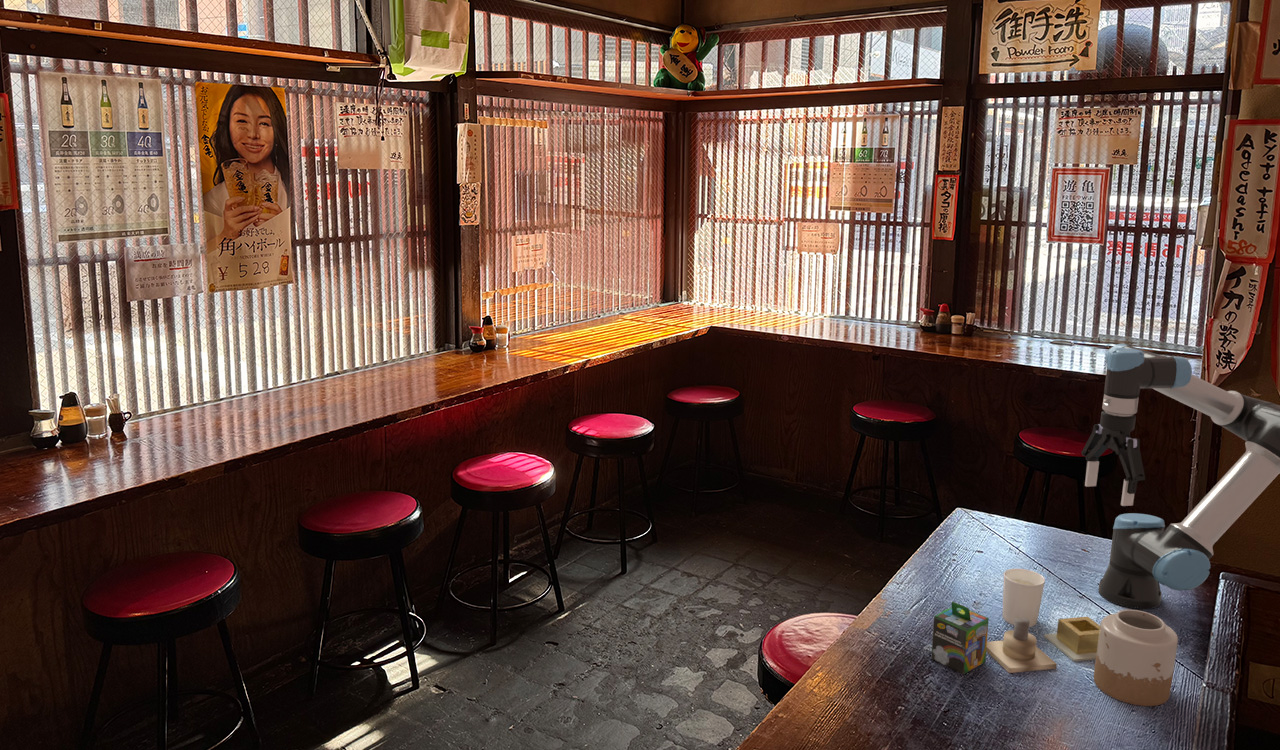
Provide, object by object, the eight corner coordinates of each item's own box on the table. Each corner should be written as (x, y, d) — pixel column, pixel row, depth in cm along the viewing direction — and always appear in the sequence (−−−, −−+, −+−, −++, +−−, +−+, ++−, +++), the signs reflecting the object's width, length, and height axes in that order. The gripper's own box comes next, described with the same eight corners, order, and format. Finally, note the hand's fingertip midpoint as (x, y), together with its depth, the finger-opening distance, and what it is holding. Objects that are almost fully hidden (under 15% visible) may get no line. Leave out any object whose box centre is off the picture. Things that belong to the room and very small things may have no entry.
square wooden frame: (1085, 635, 232) (1087, 616, 231) (1106, 651, 224) (1109, 632, 223) (1056, 637, 230) (1058, 619, 229) (1076, 654, 223) (1079, 635, 222)
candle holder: (1043, 630, 235) (1049, 587, 232) (1002, 626, 237) (1007, 583, 234) (1035, 612, 244) (1040, 570, 242) (996, 608, 246) (1000, 566, 243)
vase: (1081, 668, 218) (1090, 602, 214) (1148, 670, 217) (1158, 604, 214) (1111, 706, 203) (1121, 636, 199) (1183, 708, 202) (1194, 637, 199)
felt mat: (1087, 632, 234) (1087, 630, 234) (1119, 657, 223) (1119, 655, 223) (1043, 636, 232) (1044, 634, 232) (1074, 661, 221) (1074, 659, 221)
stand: (1026, 642, 229) (1030, 607, 227) (1056, 668, 218) (1060, 631, 216) (981, 646, 227) (985, 610, 225) (1009, 673, 216) (1013, 635, 213)
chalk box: (986, 663, 220) (992, 605, 216) (963, 675, 214) (969, 616, 211) (952, 647, 227) (957, 590, 224) (929, 658, 221) (934, 601, 218)
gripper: (1072, 399, 237) (1063, 479, 242) (1140, 427, 213) (1128, 514, 218) (1099, 398, 239) (1089, 477, 243) (1169, 426, 215) (1157, 512, 220)
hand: (1108, 495), depth 231 cm, fingers open, 13 cm apart
